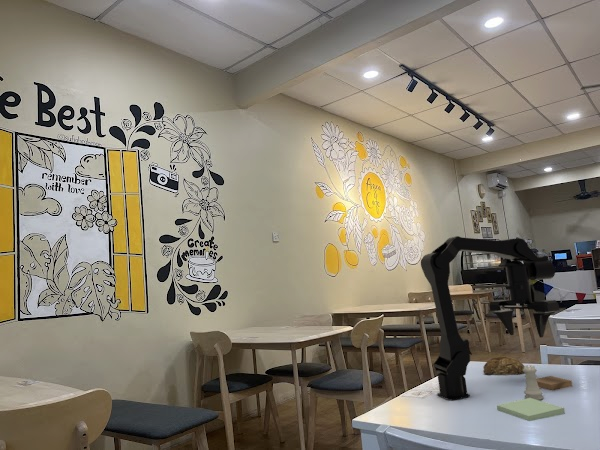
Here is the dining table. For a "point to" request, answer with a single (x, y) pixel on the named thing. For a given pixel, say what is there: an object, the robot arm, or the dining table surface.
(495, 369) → the bread roll
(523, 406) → the sage block
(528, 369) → the rook chess piece
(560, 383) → the walnut block
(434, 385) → the dining table surface
